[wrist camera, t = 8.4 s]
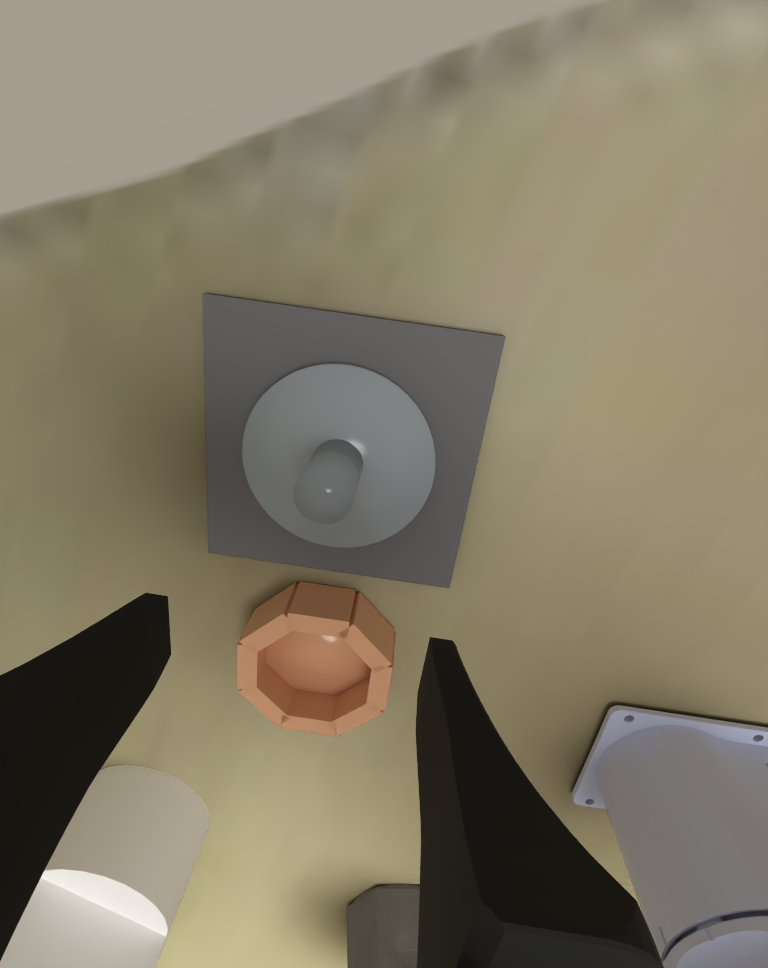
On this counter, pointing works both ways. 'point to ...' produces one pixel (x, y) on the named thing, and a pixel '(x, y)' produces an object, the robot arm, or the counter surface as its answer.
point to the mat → (360, 341)
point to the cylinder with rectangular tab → (114, 875)
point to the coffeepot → (384, 927)
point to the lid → (339, 455)
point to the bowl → (316, 659)
